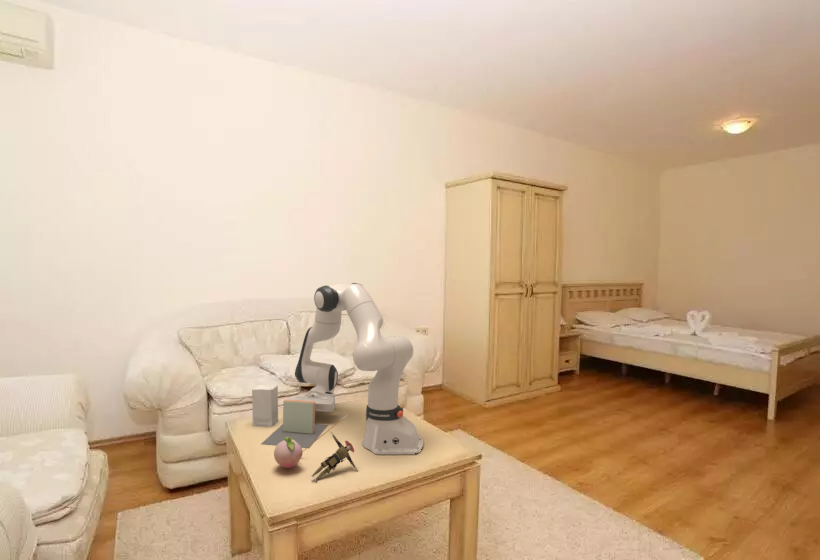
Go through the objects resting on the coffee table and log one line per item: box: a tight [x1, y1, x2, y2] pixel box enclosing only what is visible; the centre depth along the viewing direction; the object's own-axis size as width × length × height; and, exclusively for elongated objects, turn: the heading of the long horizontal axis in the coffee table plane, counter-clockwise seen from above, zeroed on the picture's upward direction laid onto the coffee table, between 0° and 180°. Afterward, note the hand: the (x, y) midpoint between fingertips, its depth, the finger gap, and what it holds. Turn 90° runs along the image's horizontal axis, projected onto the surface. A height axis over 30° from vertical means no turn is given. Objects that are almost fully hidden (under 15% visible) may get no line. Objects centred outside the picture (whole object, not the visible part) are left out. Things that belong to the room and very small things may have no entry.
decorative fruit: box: [273, 437, 304, 469], centre depth 134 cm, size 9×8×10 cm
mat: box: [260, 423, 329, 449], centre depth 160 cm, size 18×22×1 cm
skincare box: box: [251, 384, 279, 428], centre depth 168 cm, size 8×7×16 cm
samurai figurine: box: [298, 414, 359, 483], centre depth 134 cm, size 16×10×20 cm
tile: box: [282, 398, 316, 434], centre depth 161 cm, size 12×2×12 cm, turn 83°
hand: (303, 410), depth 165 cm, fingers closed
